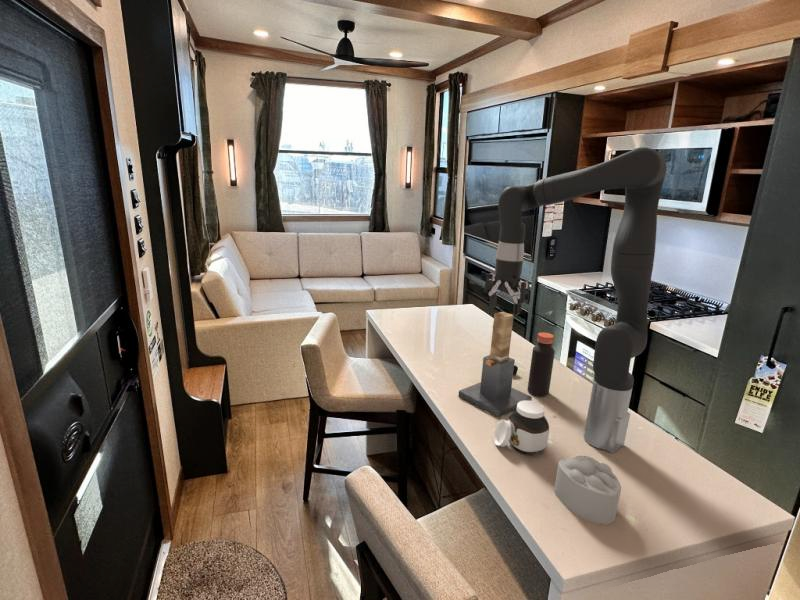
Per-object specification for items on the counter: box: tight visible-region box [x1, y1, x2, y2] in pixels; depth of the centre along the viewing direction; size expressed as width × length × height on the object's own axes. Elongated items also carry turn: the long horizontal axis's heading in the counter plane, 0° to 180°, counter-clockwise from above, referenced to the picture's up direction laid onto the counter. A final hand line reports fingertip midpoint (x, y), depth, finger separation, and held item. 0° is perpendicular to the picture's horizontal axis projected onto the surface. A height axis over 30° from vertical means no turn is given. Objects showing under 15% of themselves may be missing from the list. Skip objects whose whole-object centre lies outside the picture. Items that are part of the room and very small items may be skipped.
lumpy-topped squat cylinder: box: [553, 455, 622, 526], centre depth 97 cm, size 10×13×9 cm
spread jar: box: [493, 400, 550, 455], centre depth 116 cm, size 12×11×12 cm
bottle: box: [527, 331, 556, 398], centre depth 145 cm, size 7×7×20 cm
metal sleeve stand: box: [457, 354, 533, 419], centre depth 139 cm, size 16×16×14 cm
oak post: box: [489, 311, 515, 363], centre depth 136 cm, size 4×4×20 cm
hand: (503, 311), depth 133 cm, fingers open, 8 cm apart
